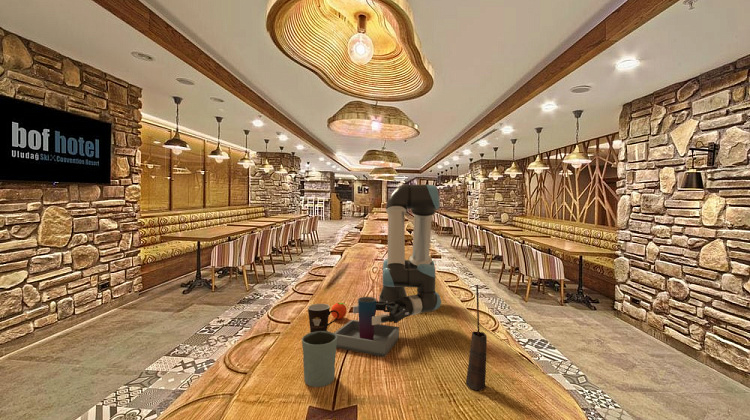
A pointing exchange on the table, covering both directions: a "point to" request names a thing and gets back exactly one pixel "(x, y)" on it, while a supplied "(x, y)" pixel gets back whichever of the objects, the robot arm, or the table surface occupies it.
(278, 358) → the table surface
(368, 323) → the cup
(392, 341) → the tray
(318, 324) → the coffee mug
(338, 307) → the clementine
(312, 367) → the grey ceramic tumbler
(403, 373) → the table surface
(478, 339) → the butter churn
